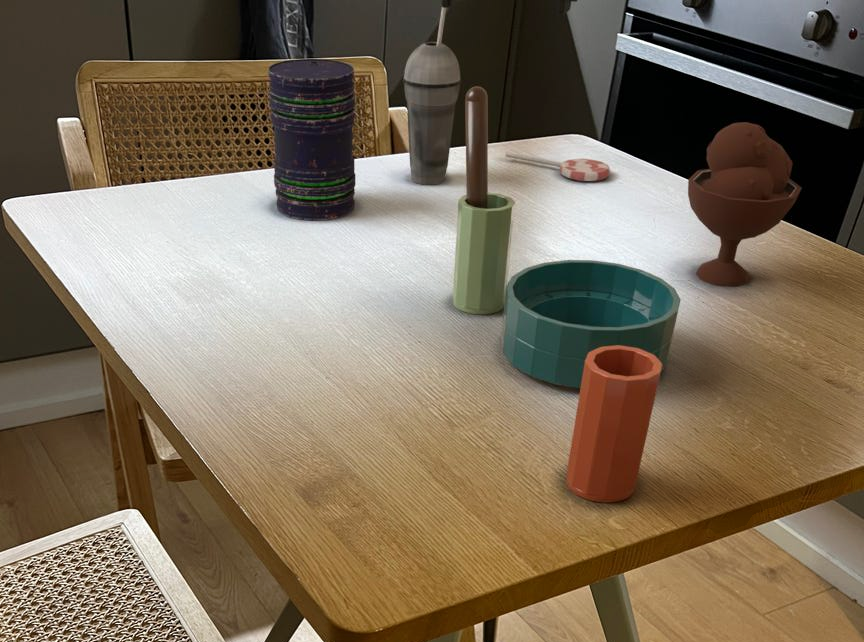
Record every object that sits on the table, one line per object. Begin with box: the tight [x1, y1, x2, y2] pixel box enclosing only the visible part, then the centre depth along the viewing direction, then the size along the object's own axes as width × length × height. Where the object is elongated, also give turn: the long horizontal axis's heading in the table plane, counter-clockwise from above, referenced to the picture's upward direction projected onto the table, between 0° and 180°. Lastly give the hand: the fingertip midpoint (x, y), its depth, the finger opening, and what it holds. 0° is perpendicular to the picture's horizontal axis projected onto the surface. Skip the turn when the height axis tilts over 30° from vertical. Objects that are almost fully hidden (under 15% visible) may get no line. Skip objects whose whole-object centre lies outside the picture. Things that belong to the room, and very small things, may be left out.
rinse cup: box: [452, 191, 516, 315], centre depth 95 cm, size 5×5×10 cm
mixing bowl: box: [500, 259, 682, 389], centre depth 88 cm, size 15×15×6 cm
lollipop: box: [505, 151, 611, 182], centre depth 130 cm, size 7×1×15 cm
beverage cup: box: [402, 6, 462, 186], centre depth 120 cm, size 7×7×20 cm
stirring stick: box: [464, 85, 489, 209], centre depth 92 cm, size 2×2×19 cm
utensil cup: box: [565, 345, 662, 504], centre depth 71 cm, size 5×5×10 cm
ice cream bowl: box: [687, 121, 802, 287], centre depth 99 cm, size 11×11×15 cm
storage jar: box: [268, 58, 357, 221], centre depth 114 cm, size 10×10×15 cm
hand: (506, 8), depth 81 cm, fingers open, 9 cm apart
